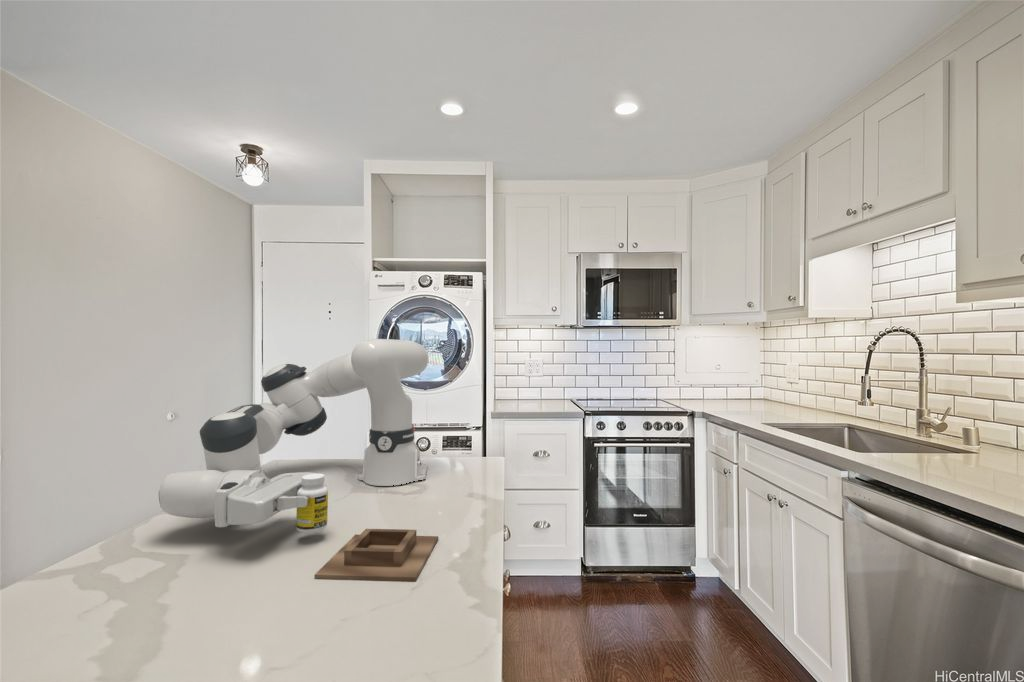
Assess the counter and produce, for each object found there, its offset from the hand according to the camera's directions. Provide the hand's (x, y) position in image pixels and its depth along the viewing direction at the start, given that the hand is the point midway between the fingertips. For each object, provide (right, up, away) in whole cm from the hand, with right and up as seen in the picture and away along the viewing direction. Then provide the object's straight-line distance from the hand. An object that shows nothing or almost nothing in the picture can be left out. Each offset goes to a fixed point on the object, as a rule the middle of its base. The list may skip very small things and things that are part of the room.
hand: (317, 495), depth 88 cm
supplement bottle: (-1, -6, 0) cm, 6 cm away
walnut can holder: (+15, -8, -8) cm, 18 cm away
